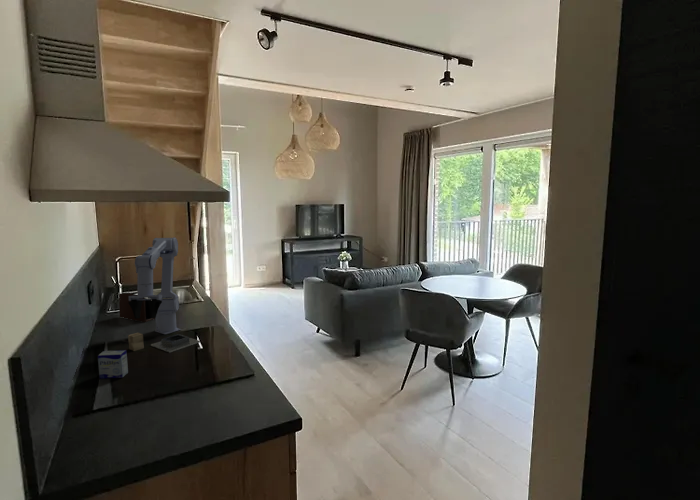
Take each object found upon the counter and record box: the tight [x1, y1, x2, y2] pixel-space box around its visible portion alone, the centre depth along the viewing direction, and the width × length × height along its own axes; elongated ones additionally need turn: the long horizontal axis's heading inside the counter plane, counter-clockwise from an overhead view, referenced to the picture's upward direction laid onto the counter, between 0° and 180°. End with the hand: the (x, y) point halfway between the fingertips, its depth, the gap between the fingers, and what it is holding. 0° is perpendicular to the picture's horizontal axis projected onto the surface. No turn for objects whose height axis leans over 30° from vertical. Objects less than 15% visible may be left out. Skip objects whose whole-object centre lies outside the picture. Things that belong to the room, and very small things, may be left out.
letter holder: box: [118, 292, 155, 323], centre depth 209 cm, size 10×20×14 cm, turn 65°
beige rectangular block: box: [127, 332, 145, 352], centre depth 165 cm, size 4×4×6 cm
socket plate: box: [150, 333, 201, 353], centre depth 169 cm, size 14×14×3 cm
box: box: [97, 349, 129, 380], centre depth 138 cm, size 8×4×9 cm, turn 95°
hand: (145, 318), depth 160 cm, fingers open, 7 cm apart
